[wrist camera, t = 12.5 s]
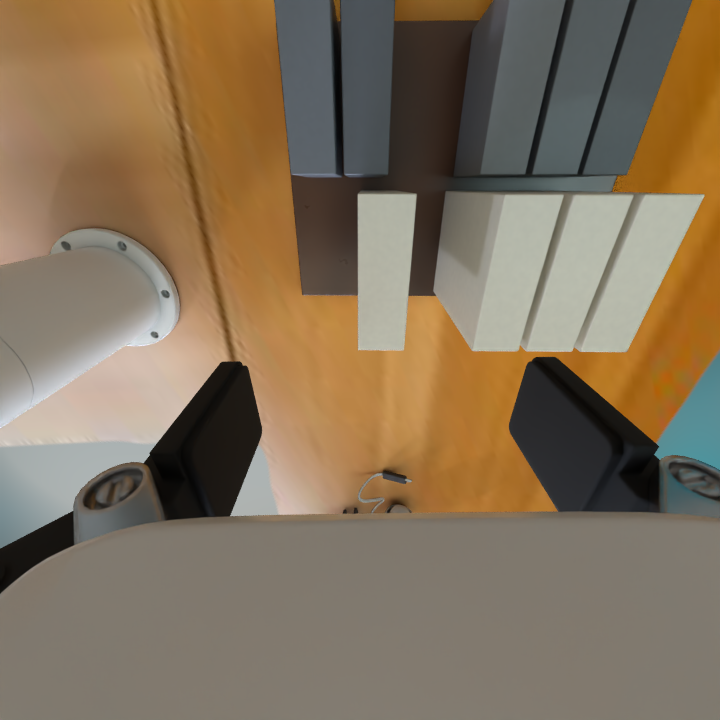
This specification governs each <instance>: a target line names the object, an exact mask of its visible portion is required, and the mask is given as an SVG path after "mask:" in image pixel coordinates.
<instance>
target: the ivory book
mask: <svg viewBox="0 0 720 720" xmlns="http://www.w3.org/2000/svg"><path fill="white" fill-rule="evenodd" d="M416 198H417V194H415V193H408V192H401V191H383V190H361V191H360V192H359V193H358V350H404V343H405V331H406V319H407V306H408V294H409V282H410V270H411V258H412V246H413V234H414V222H415V210H416Z"/></svg>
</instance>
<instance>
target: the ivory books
mask: <svg viewBox="0 0 720 720" xmlns="http://www.w3.org/2000/svg"><path fill="white" fill-rule="evenodd" d="M703 198H704V194H675V193H632V192H588V191H446V192H445V200H444V208H443V217H442V225H441V233H440V241H439V249H438V257H437V265H436V273H435V281H434V289H433V291H434V293H435V294H436V296H437V298H438V299H439V301H440V302H441V304H442V305H443V307H444V308H445V310H446V311H447V313H448V314H449V316H450V317H451V319H452V321H453V322H454V324H455V325H456V327H457V328H458V330H459V331H460V333H461V334H462V336H463V337H464V339H465V340H466V342H467V343H468V345H469V347H470V348H471V350H472V351H518V349H519V346H520V345H521V346H522V347H523V348H524V349H525V350H526V351H572V350H573V348H574V347H575V348H576V349H578V350H579V351H580V352H627V350H628V348H629V346H630V344H631V342H632V340H633V338H634V336H635V334H636V332H637V330H638V328H639V326H640V324H641V322H642V320H643V318H644V316H645V314H646V312H647V310H648V308H649V306H650V304H651V302H652V300H653V298H654V296H655V294H656V292H657V290H658V288H659V286H660V284H661V282H662V280H663V278H664V276H665V274H666V272H667V270H668V268H669V266H670V264H671V262H672V260H673V258H674V256H675V254H676V252H677V250H678V248H679V246H680V244H681V242H682V240H683V238H684V236H685V234H686V232H687V230H688V228H689V226H690V224H691V222H692V220H693V218H694V216H695V214H696V212H697V210H698V208H699V206H700V204H701V202H702V200H703Z"/></svg>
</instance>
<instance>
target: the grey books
mask: <svg viewBox="0 0 720 720" xmlns="http://www.w3.org/2000/svg"><path fill="white" fill-rule="evenodd" d="M691 2H692V0H493V2H492V3H491V4H490V6H489V7H488V9H487V10H486V12H485V13H484V15H483V16H482V18H481V19H480V20H479V22H478V23H477V25H476V26H475V28H474V29H473V31H472V39H471V46H470V54H469V61H468V69H467V77H466V84H465V92H464V99H463V107H462V114H461V122H460V130H459V137H458V145H457V152H456V160H455V168H454V175H453V177H591V176H615V175H627V173H628V170H629V167H630V165H631V162H632V159H633V157H634V154H635V151H636V149H637V146H638V143H639V141H640V138H641V135H642V133H643V130H644V127H645V125H646V122H647V119H648V117H649V114H650V111H651V109H652V106H653V103H654V101H655V98H656V95H657V93H658V90H659V87H660V85H661V82H662V79H663V77H664V74H665V71H666V69H667V66H668V63H669V61H670V58H671V55H672V53H673V50H674V47H675V45H676V42H677V39H678V37H679V34H680V31H681V29H682V26H683V23H684V21H685V18H686V15H687V13H688V10H689V7H690V5H691ZM274 3H275V13H276V24H277V34H278V44H279V55H280V65H281V76H282V86H283V96H284V107H285V117H286V127H287V138H288V148H289V159H290V169H291V174H292V175H297V176H303V177H342V176H343V174H342V133H341V92H340V50H339V28H338V22H337V16H336V11H335V5H334V0H274ZM394 14H395V0H340V19H341V64H342V109H343V154H344V175H346V176H348V177H384V176H386V175H388V165H389V140H390V115H391V90H392V65H393V40H394Z"/></svg>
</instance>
